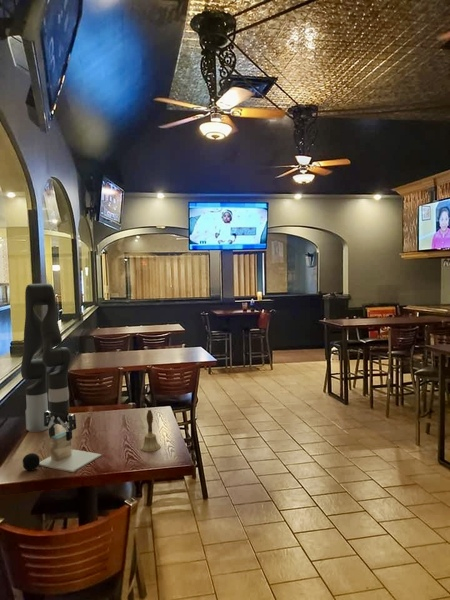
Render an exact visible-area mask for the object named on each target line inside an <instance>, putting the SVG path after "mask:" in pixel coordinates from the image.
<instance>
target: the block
mask: <svg viewBox="0 0 450 600" xmlns="http://www.w3.org/2000/svg"><path fill="white" fill-rule="evenodd" d="M66 432H67V431H61V432H59V433H55V435H54V436H52V437H50V436H49V444H50V456H51V460H54V461H61V460H63V459H65V458H67V457H68V456H70V455H72V439H71V440H69V441H66Z"/></svg>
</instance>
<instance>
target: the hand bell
mask: <svg viewBox="0 0 450 600" xmlns="http://www.w3.org/2000/svg"><path fill="white" fill-rule="evenodd" d="M153 420H154V416H153V412H152V410H151V409H148V410H147V413H146V422H147V433H146V434H145V435H144V440H143V443H142V445H141V446H140V448H139V449H140V450H141V451H142V452H149V453H150V452H156V451H158V450H160V449H161V444H159V443H158V441H157V437H156V434H155V433H154V432H153Z"/></svg>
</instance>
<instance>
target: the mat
mask: <svg viewBox="0 0 450 600" xmlns="http://www.w3.org/2000/svg"><path fill="white" fill-rule="evenodd" d="M100 457H102V454H100V453H96V452H91V451H84V450H78V449H72V455H70V456H68V457H67V458H65V459H63V460H61V461H54V460H51V455H50V456H47V458H44V459H43V460H41V461H40V463H39V466H38V467H44V468H49V469H54V470H59V471H65V472H69V473H70V472H71V473H74V472H76V471H78V470H80V469H81V468H83V467H85V466H86V465H88V464H91V462H93V461H95V460H97V459H99V458H100Z"/></svg>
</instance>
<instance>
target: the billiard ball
mask: <svg viewBox="0 0 450 600" xmlns="http://www.w3.org/2000/svg"><path fill="white" fill-rule="evenodd" d="M40 460H41V459H40V456H39V455H38V454H36V453H34V452H33V453H32V452H30V453H28V454H26V455H25V456H23V458H22V467H23V468H24V470H26V471H34V470H36V469H37V468H38V467H40V466H39V463H40Z"/></svg>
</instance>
